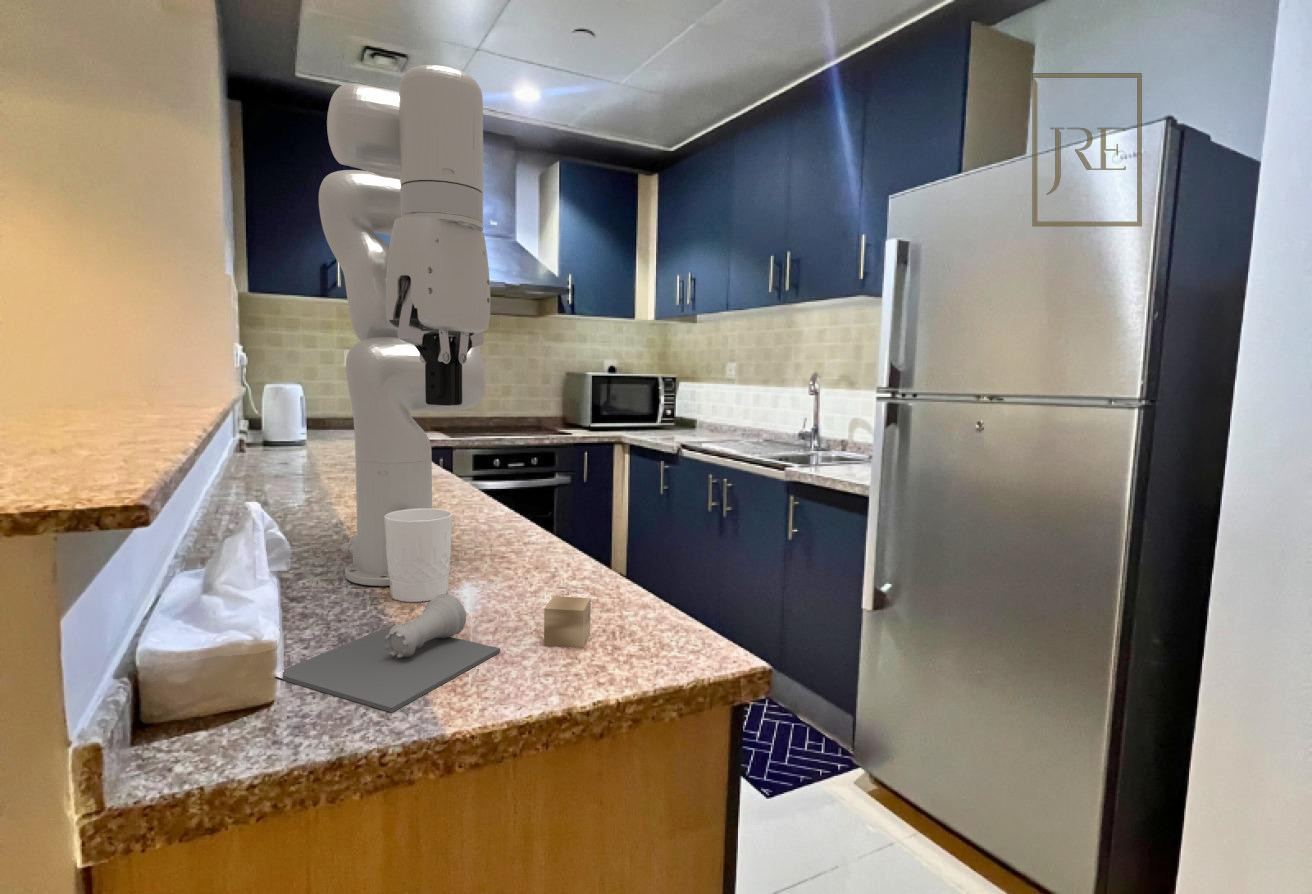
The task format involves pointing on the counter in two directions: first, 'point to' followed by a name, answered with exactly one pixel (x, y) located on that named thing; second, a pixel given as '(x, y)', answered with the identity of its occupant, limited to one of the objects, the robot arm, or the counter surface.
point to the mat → (387, 669)
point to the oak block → (567, 622)
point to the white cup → (418, 553)
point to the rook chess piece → (427, 626)
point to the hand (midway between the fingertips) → (443, 404)
